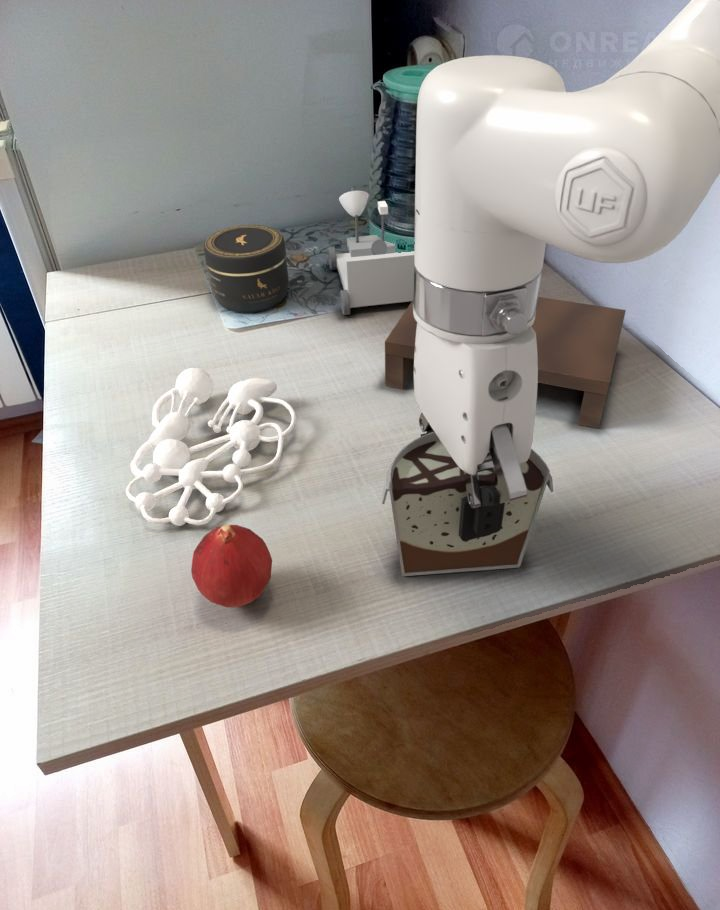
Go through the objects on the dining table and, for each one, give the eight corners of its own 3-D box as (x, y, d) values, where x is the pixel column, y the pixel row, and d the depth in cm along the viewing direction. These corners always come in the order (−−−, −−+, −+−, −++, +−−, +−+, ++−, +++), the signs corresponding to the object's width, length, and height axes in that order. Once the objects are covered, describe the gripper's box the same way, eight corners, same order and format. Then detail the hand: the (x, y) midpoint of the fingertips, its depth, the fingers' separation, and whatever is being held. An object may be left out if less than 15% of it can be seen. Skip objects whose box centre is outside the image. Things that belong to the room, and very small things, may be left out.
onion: (187, 616, 53) (164, 545, 48) (223, 561, 57) (206, 490, 52) (256, 638, 52) (240, 567, 46) (289, 579, 56) (278, 507, 50)
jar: (230, 324, 86) (220, 265, 81) (201, 291, 92) (190, 235, 87) (303, 301, 89) (298, 244, 84) (271, 271, 96) (264, 216, 91)
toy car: (321, 185, 93) (408, 177, 94) (326, 255, 99) (407, 247, 100) (339, 242, 79) (440, 232, 80) (344, 319, 86) (437, 309, 87)
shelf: (615, 354, 78) (625, 309, 75) (598, 429, 68) (609, 382, 65) (425, 321, 85) (426, 279, 81) (385, 386, 75) (384, 341, 71)
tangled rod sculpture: (250, 552, 59) (246, 520, 56) (90, 520, 61) (79, 487, 58) (309, 409, 73) (309, 377, 70) (178, 386, 75) (172, 354, 72)
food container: (519, 511, 60) (534, 417, 54) (538, 566, 56) (557, 470, 49) (376, 522, 60) (374, 428, 54) (383, 577, 55) (381, 482, 49)
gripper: (610, 351, 37) (559, 569, 49) (470, 226, 50) (456, 424, 62) (482, 380, 36) (460, 599, 47) (370, 244, 48) (375, 444, 60)
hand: (458, 499), depth 54 cm, fingers closed on food container, 6 cm apart
